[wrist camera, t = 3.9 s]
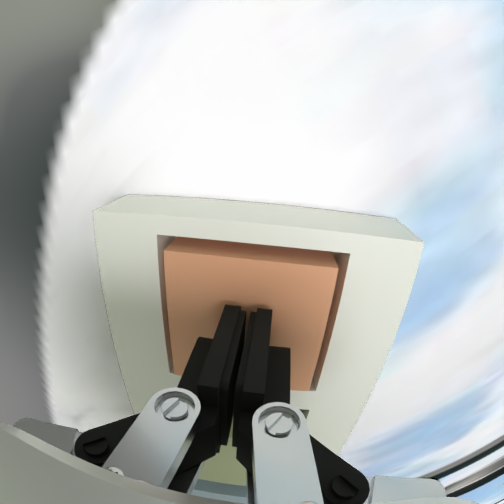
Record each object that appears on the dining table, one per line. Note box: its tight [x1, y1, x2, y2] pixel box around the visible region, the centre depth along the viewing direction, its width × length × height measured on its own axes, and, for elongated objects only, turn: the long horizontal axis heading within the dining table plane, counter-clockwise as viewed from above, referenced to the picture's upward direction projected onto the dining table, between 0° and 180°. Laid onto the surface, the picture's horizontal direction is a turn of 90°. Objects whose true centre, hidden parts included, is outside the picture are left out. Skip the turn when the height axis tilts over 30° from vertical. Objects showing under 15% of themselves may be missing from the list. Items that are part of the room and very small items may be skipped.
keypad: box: [93, 194, 424, 456], centre depth 16 cm, size 24×12×3 cm, turn 176°
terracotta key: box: [164, 236, 339, 391], centre depth 12 cm, size 6×6×2 cm
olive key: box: [198, 409, 300, 486], centre depth 14 cm, size 6×6×2 cm
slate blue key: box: [191, 479, 247, 504], centre depth 17 cm, size 6×6×2 cm
